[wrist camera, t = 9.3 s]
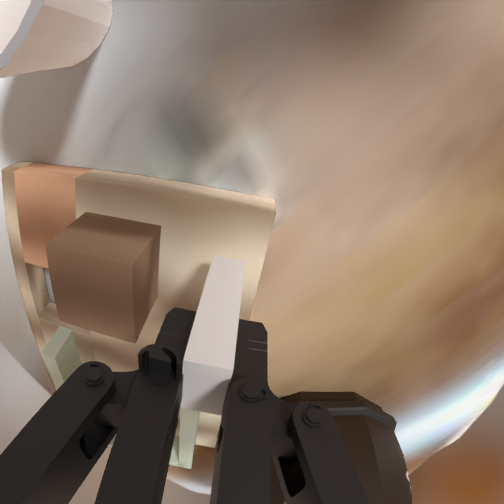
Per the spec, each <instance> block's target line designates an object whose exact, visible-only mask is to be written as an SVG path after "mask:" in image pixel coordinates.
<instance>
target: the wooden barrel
mask: <svg viewBox="0 0 504 504" xmlns="http://www.w3.org/2000/svg"><path fill="white" fill-rule="evenodd" d="M279 399H281V400H283V401H285V402H288V403H291V404H293V405H296V406H298V405H299V404H300V403H303V402H306V401H310V402H317V403H319V404H322V405H323V406H325V407H326V408H327V409H328V410H329V412H330V413H331V414H332V417H333V419H334V421H335V424H336V426H337V428H338V431H339V433H340V435H341V438H342V440H343V442H344V445H345V447H346V449H347V452H348V454H349V456H350V459H351V461H352V463H353V466H354V468H355V470H356V473H357V475H358V478H359V480H360V482H361V485H362V487H363V489H364V492H365V494H366V496H367V499H368V501H369V504H412V495H411V485H410V481H409V476H408V472H407V467H406V463H405V459H404V455H403V453H402V450H401V448H400V445H399V443H398V440H397V438H396V435H395V433H394V430H395V427H396V423H397V422H396V421H395V419H394V418H393V417H392V416H391V415H389V414H387V413H385V412H383V410H382V409H381V407H380V406H378V405H376V404H374V403H372V402H371V401H369V400H367V399H365V398H364V397H362V396H360V395H358V394H357V393H355V392H298V393H295V394H292V395H288V396H285V397H282V398H279ZM271 504H286V502H285V499H284V495H283V492H282V489H281V485H280V482H279V478H278V475H277V471H276V468H275V464H274V461H273V457H272V454H271Z"/></svg>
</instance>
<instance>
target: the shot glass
mask: <svg viewBox="0 0 504 504" xmlns="http://www.w3.org/2000/svg"><path fill="white" fill-rule="evenodd" d="M112 14H113V7H112V2H111V0H0V78H4V77H8V76H13V75H19V74H24V73H30V72H36V71H43V70H50V69H58V68H65V67H73V66H74V65H76V64H78V63H80V62H82V61H83V60H85V59H87V58H88V57H89V56H90V55H91V54H92V53H93V52H94V51H95V50H96V49H97V48H98V47H99V46H100V45H101V43H102V41H103V39H104V37H105V35H106V34H107V32H108V30H109V28H110V24H111V19H112Z"/></svg>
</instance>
